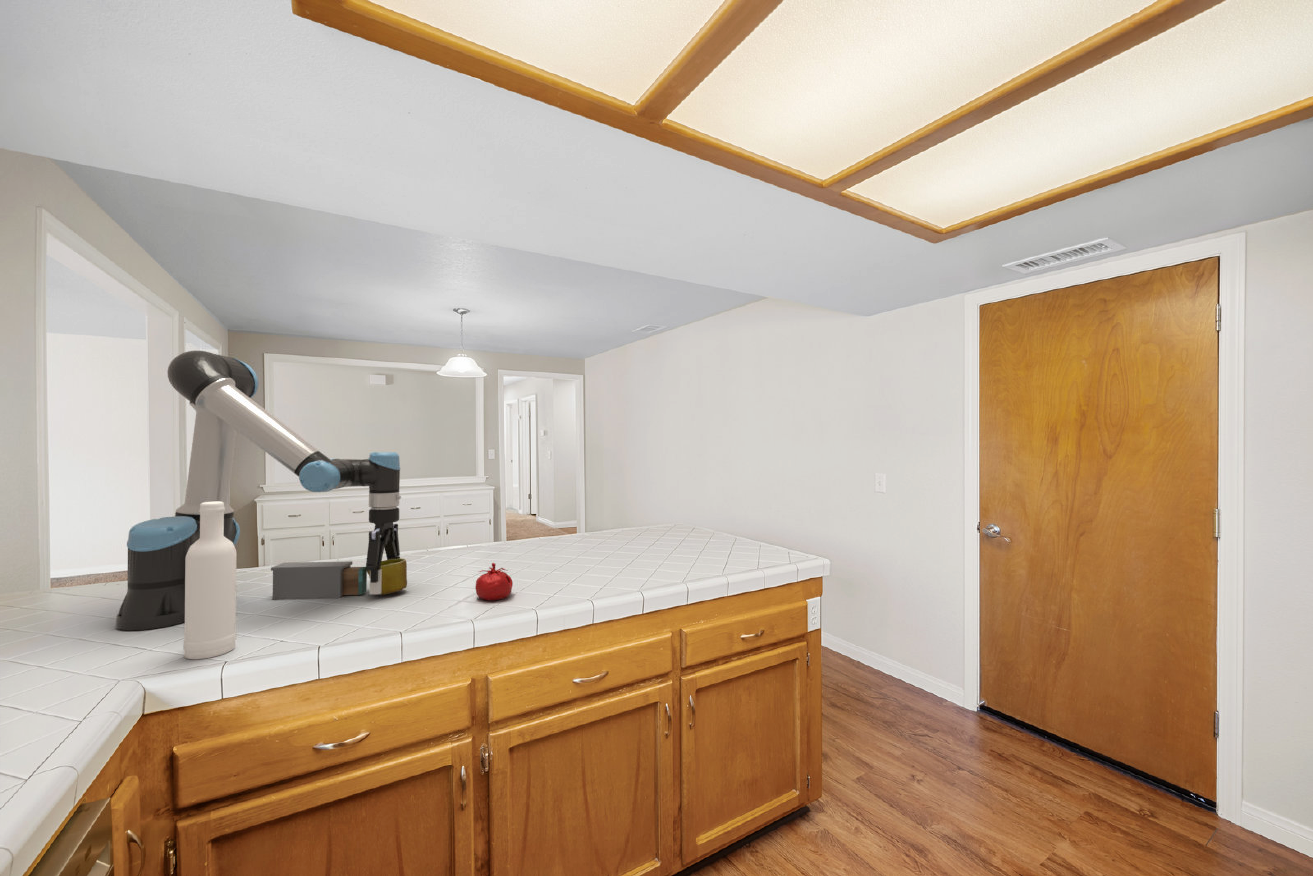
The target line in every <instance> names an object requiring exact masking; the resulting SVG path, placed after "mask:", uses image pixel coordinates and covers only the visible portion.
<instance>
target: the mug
mask: <svg viewBox="0 0 1313 876" xmlns="http://www.w3.org/2000/svg"><path fill="white" fill-rule="evenodd" d="M407 563H408V562H407V560H406V559H405V558H401V557H400V559H389V560H387V559H384V560H382V561H381V566H380V569H382V593H381V594H379V595H389V594H393V593H397V592H400V591H403V590H404V589H406V588H407V586H408V578H407V577H408V575H407V574H408V571H407V569H408V567H407V565H408V564H407ZM373 565H374V564H373ZM367 574H368V578H370V570H367Z"/></svg>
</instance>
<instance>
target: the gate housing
mask: <svg viewBox="0 0 1313 876" xmlns="http://www.w3.org/2000/svg"><path fill="white" fill-rule="evenodd" d="M352 565H353V561H316V562H315V561H305V562H304V561H302V562H301V561H300V562H296V561H295V562H292V561H291V562H282V563H279V564H277V565H274V566H271V567H270V571H272V600H274V601H275V600H301V599H302V600H303V599H305V600H309V599H340V598H342V597H343V595H342V587H343V569H344V568H346V567H352Z"/></svg>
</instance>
